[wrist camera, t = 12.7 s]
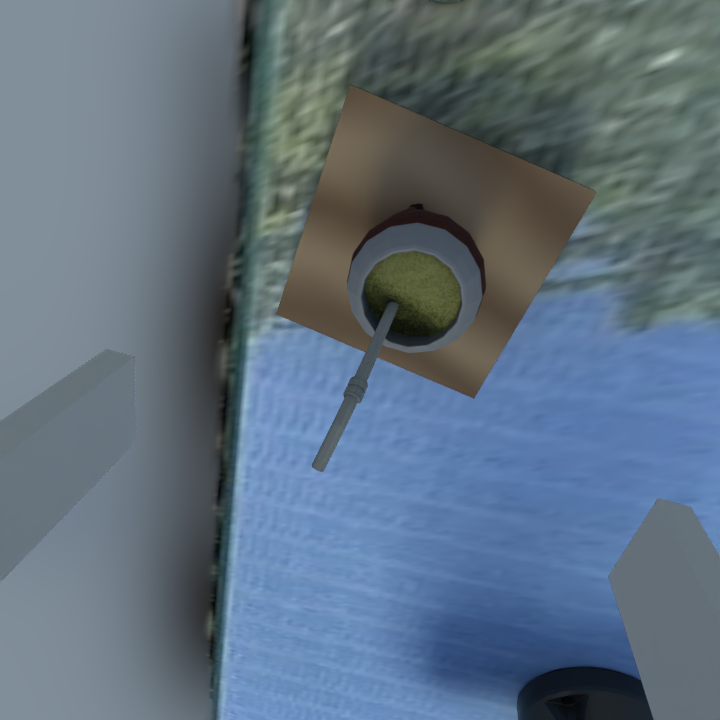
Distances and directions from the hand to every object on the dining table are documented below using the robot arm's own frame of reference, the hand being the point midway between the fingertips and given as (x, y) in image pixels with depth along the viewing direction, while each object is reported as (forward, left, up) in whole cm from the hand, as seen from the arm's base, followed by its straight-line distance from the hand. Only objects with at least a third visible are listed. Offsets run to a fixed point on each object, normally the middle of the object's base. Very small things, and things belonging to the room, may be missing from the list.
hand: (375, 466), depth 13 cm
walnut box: (0, 0, -27) cm, 27 cm away
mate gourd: (-1, 0, -21) cm, 21 cm away
